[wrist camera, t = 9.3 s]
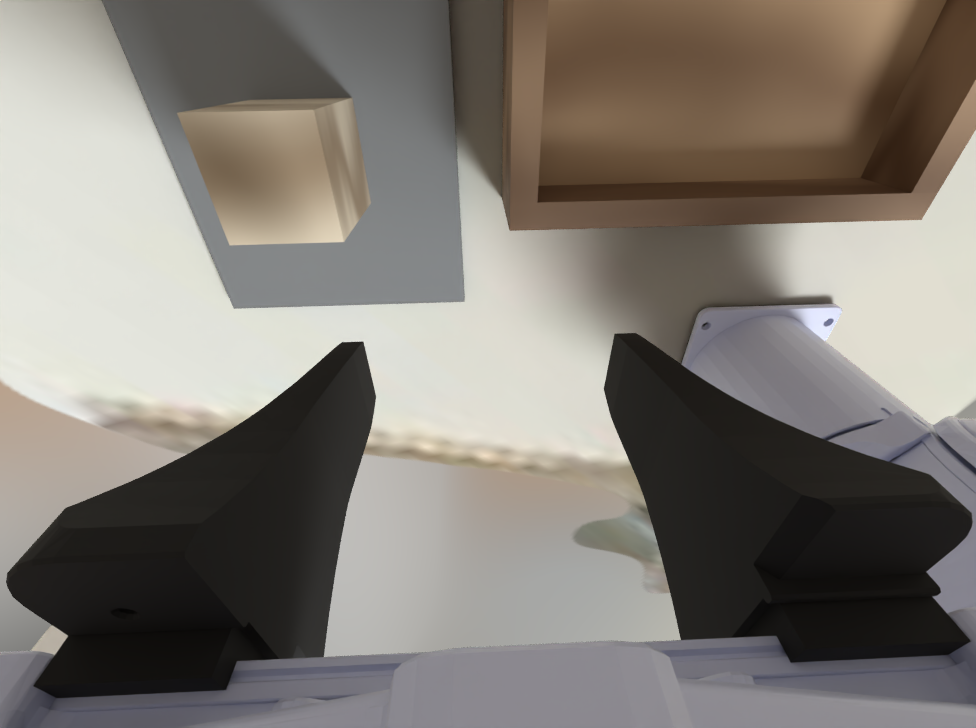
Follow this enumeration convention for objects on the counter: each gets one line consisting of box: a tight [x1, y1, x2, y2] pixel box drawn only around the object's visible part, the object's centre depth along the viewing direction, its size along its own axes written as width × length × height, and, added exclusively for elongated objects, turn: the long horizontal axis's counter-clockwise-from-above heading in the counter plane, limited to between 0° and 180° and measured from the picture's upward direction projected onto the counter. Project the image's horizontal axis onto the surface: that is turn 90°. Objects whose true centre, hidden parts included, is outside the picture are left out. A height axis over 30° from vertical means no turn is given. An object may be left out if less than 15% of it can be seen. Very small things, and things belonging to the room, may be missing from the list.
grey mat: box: [102, 0, 465, 308], centre depth 18 cm, size 14×12×1 cm
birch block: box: [177, 98, 371, 245], centre depth 15 cm, size 4×4×5 cm
